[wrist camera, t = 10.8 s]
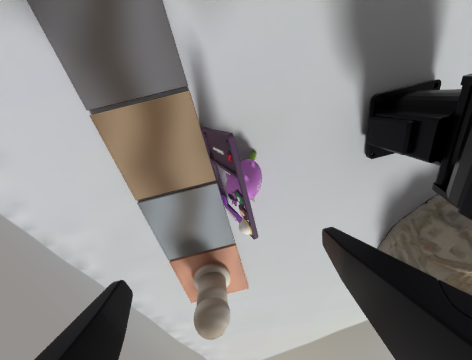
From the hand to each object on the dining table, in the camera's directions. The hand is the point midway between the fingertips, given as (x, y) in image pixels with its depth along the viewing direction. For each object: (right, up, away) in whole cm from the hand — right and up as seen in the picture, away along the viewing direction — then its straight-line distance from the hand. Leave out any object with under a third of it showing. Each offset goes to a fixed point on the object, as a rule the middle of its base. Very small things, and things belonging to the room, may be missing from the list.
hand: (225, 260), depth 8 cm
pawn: (-3, -10, +17) cm, 20 cm away
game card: (0, +5, +11) cm, 12 cm away
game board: (-6, +2, +11) cm, 13 cm away
